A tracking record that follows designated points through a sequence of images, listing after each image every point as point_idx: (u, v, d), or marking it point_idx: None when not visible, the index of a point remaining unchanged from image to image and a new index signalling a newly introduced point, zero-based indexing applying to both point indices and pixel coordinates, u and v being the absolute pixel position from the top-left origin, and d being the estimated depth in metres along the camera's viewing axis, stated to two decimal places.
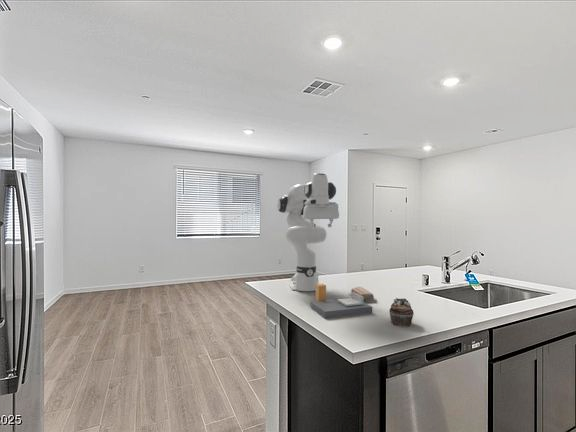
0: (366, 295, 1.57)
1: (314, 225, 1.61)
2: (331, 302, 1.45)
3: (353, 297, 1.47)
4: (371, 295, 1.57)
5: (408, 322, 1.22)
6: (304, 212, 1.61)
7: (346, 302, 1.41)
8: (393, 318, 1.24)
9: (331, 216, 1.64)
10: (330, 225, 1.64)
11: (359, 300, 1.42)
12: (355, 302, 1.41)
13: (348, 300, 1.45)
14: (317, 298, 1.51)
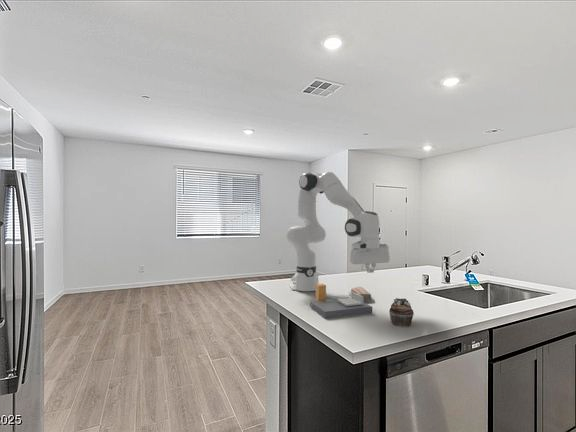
0: (363, 295, 1.57)
1: (370, 271, 1.46)
2: (331, 302, 1.45)
3: (353, 297, 1.47)
4: (369, 295, 1.57)
5: (408, 322, 1.22)
6: (352, 257, 1.44)
7: (346, 302, 1.41)
8: (393, 318, 1.24)
9: (381, 260, 1.47)
10: (372, 270, 1.47)
11: (359, 300, 1.42)
12: (355, 302, 1.41)
13: (348, 300, 1.45)
14: (317, 298, 1.51)
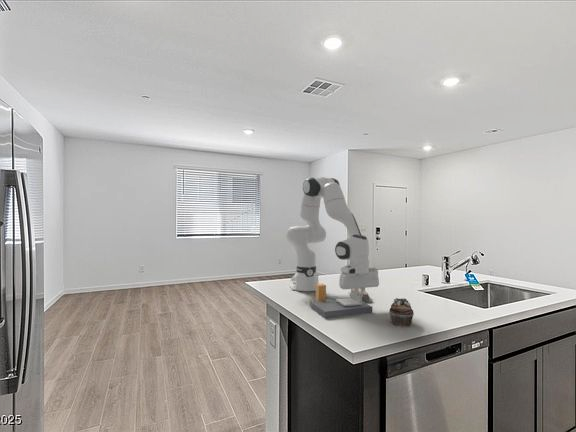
0: None
1: (359, 295, 1.45)
2: (331, 302, 1.45)
3: (351, 297, 1.47)
4: (366, 295, 1.57)
5: (408, 322, 1.22)
6: (341, 282, 1.42)
7: (344, 302, 1.41)
8: (393, 318, 1.24)
9: (370, 285, 1.45)
10: (361, 295, 1.45)
11: (357, 300, 1.42)
12: (353, 302, 1.41)
13: (346, 300, 1.44)
14: (317, 298, 1.51)
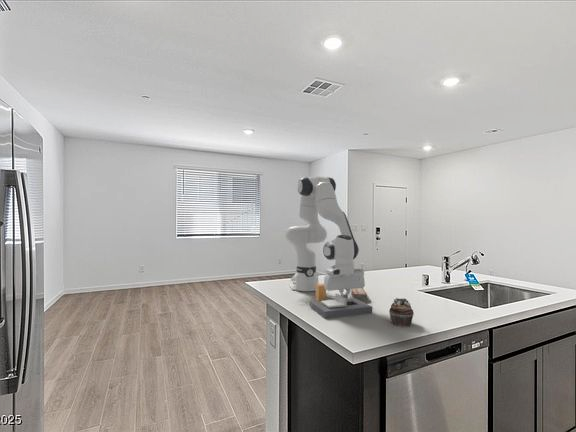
0: (359, 295, 1.57)
1: None
2: None
3: (337, 298, 1.45)
4: (364, 295, 1.57)
5: (408, 322, 1.22)
6: (325, 283, 1.40)
7: (329, 304, 1.39)
8: (393, 318, 1.24)
9: (356, 286, 1.43)
10: (346, 296, 1.42)
11: (342, 302, 1.39)
12: (338, 304, 1.39)
13: (331, 302, 1.42)
14: (317, 298, 1.51)
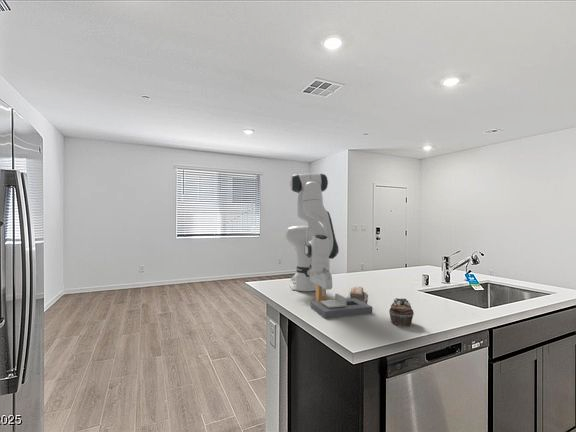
0: (355, 294, 1.58)
1: None
2: None
3: (336, 299, 1.45)
4: (360, 295, 1.57)
5: (408, 322, 1.22)
6: None
7: (329, 304, 1.39)
8: (393, 318, 1.24)
9: (321, 285, 1.47)
10: (321, 294, 1.49)
11: (342, 302, 1.39)
12: (338, 304, 1.39)
13: (331, 302, 1.42)
14: (317, 298, 1.51)
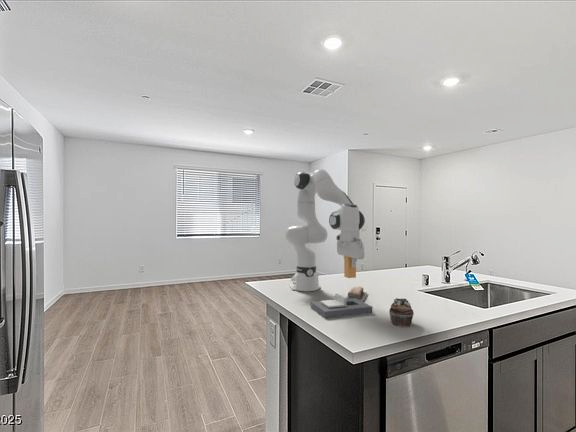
0: (352, 294, 1.59)
1: None
2: None
3: (336, 299, 1.45)
4: (357, 295, 1.58)
5: (408, 322, 1.22)
6: None
7: (329, 304, 1.39)
8: (393, 318, 1.24)
9: (352, 255, 1.39)
10: (351, 265, 1.41)
11: (342, 302, 1.39)
12: (338, 304, 1.39)
13: (331, 302, 1.42)
14: (346, 270, 1.43)
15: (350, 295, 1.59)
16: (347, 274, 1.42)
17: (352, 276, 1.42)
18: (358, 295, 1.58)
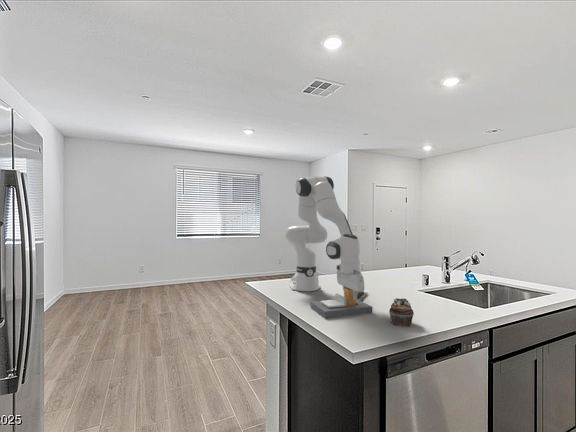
0: None
1: None
2: None
3: (336, 299, 1.45)
4: None
5: (408, 322, 1.22)
6: None
7: (329, 304, 1.39)
8: (393, 318, 1.24)
9: (352, 288, 1.39)
10: (352, 297, 1.40)
11: (342, 302, 1.39)
12: (338, 304, 1.39)
13: (331, 302, 1.42)
14: (346, 303, 1.43)
15: None
16: None
17: None
18: None
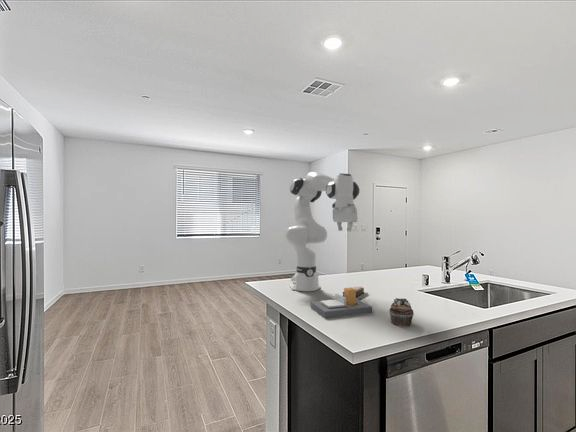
0: None
1: (338, 228, 1.60)
2: None
3: (336, 299, 1.45)
4: None
5: (408, 322, 1.22)
6: None
7: (329, 304, 1.39)
8: (393, 318, 1.24)
9: (346, 220, 1.50)
10: (347, 229, 1.51)
11: (342, 302, 1.39)
12: (338, 304, 1.39)
13: (331, 302, 1.42)
14: (346, 303, 1.43)
15: None
16: None
17: None
18: None
